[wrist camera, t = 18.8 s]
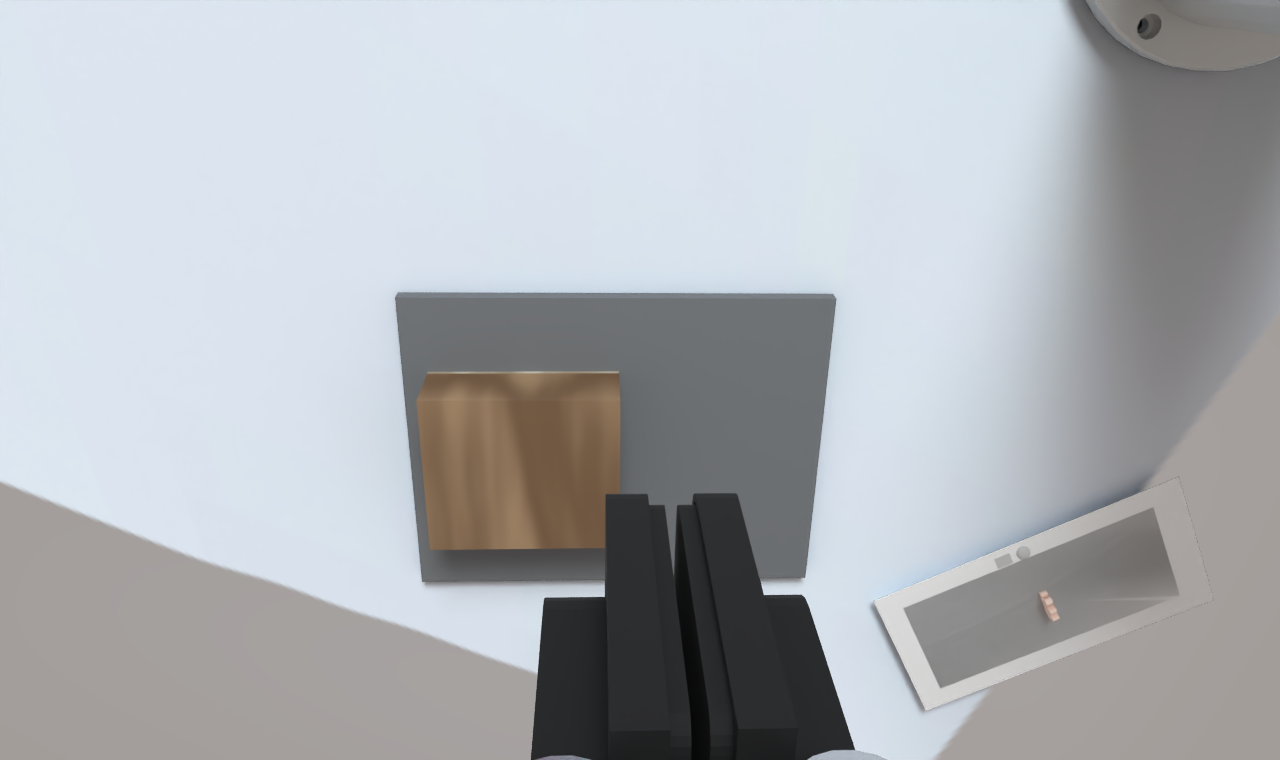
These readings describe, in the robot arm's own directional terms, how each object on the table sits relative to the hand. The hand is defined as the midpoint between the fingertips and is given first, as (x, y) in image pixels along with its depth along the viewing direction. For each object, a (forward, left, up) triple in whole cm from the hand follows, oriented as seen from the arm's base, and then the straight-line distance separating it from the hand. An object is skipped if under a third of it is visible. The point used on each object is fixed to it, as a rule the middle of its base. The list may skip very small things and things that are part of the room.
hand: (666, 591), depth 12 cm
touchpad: (-21, +21, -28) cm, 41 cm away
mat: (0, +13, -27) cm, 30 cm away
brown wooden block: (0, +12, -25) cm, 28 cm away
